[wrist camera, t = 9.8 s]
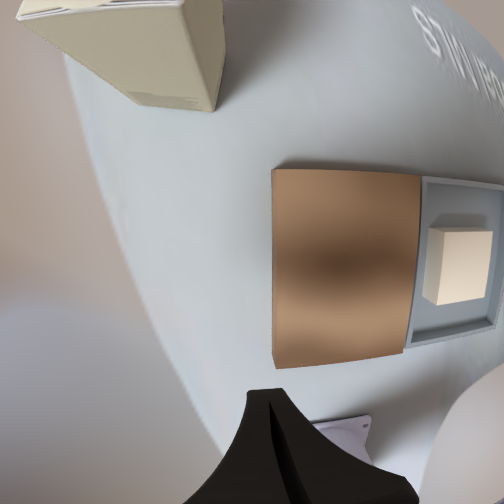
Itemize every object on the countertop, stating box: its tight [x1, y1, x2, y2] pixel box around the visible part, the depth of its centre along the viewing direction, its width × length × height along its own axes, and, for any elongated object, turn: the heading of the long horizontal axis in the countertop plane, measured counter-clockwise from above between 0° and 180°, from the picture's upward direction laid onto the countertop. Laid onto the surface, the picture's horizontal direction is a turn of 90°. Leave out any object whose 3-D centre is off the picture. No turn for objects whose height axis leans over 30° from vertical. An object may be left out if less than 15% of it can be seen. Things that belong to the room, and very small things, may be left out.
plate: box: [271, 169, 420, 369], centre depth 19 cm, size 12×9×2 cm
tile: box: [422, 227, 493, 306], centre depth 20 cm, size 5×5×2 cm
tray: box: [404, 176, 504, 349], centre depth 20 cm, size 12×10×2 cm
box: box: [16, 0, 226, 113], centre depth 11 cm, size 5×4×13 cm
